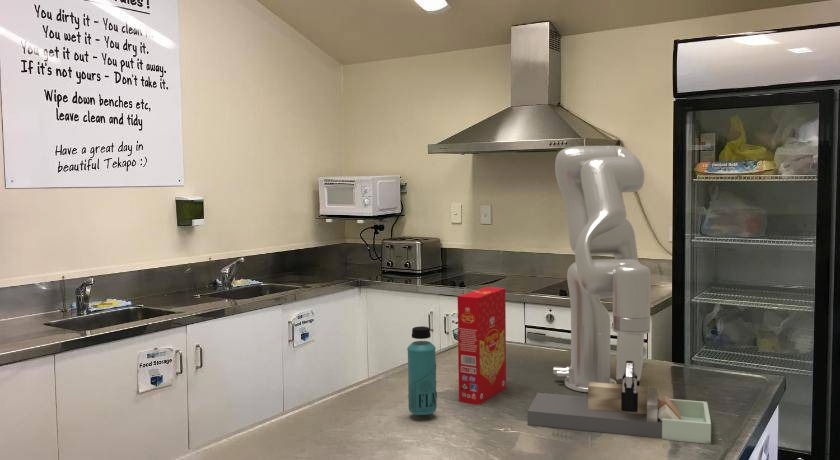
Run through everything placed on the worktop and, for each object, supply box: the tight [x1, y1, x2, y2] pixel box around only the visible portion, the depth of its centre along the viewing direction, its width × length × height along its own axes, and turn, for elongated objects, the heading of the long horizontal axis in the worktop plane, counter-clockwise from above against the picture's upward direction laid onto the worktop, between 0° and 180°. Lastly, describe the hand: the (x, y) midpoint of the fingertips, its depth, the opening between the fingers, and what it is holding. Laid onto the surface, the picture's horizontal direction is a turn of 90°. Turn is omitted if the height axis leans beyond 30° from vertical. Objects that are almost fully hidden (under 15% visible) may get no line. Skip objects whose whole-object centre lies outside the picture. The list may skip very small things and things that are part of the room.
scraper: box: [587, 382, 659, 423], centre depth 149 cm, size 14×12×5 cm
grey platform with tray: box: [526, 392, 712, 445], centre depth 150 cm, size 36×14×4 cm, turn 71°
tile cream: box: [658, 404, 680, 421], centre depth 144 cm, size 4×4×2 cm
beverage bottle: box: [406, 325, 438, 416], centre depth 155 cm, size 6×7×20 cm
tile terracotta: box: [658, 395, 681, 419], centre depth 149 cm, size 4×4×2 cm
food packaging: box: [457, 286, 507, 406], centre depth 170 cm, size 15×5×25 cm, turn 148°
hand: (630, 403), depth 149 cm, fingers open, 9 cm apart
